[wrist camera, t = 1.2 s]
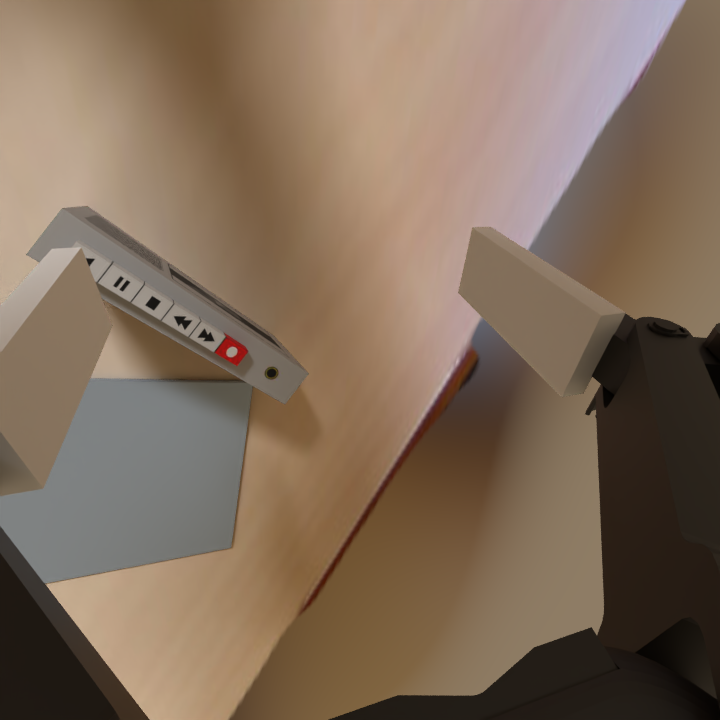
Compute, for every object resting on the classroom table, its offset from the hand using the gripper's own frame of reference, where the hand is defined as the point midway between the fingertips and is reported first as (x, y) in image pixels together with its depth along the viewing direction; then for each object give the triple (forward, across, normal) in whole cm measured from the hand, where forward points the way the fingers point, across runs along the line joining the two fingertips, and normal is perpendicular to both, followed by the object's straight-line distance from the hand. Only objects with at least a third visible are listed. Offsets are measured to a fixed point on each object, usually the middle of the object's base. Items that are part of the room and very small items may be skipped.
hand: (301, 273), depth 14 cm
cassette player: (+16, -7, -9) cm, 20 cm away
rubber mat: (+11, -14, -22) cm, 29 cm away
